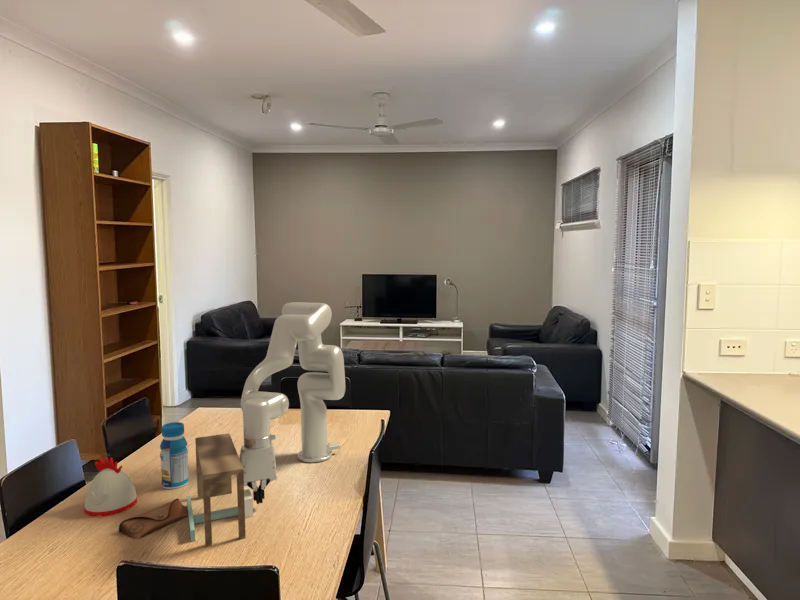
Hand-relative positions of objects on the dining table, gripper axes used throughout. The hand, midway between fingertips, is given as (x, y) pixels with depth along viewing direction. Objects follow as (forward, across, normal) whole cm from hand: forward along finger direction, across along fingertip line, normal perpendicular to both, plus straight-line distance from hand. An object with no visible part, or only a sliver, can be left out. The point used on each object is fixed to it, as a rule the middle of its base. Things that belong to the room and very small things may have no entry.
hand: (259, 501), depth 157 cm
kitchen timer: (+3, +40, -21) cm, 45 cm away
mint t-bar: (+2, +11, 0) cm, 11 cm away
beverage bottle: (+3, +22, -29) cm, 37 cm away
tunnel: (+2, +11, 0) cm, 11 cm away
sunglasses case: (+3, +27, -4) cm, 28 cm away
